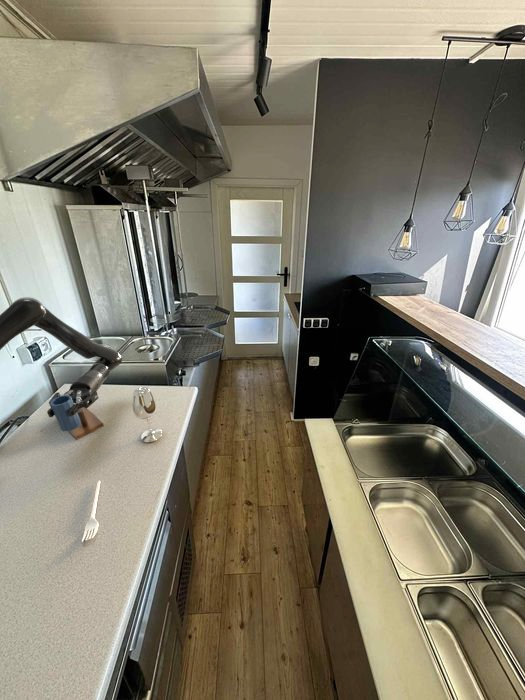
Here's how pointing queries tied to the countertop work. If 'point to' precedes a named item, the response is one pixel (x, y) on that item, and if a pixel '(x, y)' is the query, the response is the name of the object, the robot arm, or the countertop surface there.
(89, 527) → the fork
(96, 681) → the countertop surface
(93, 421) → the peg rack
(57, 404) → the tube peg
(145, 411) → the wineglass
